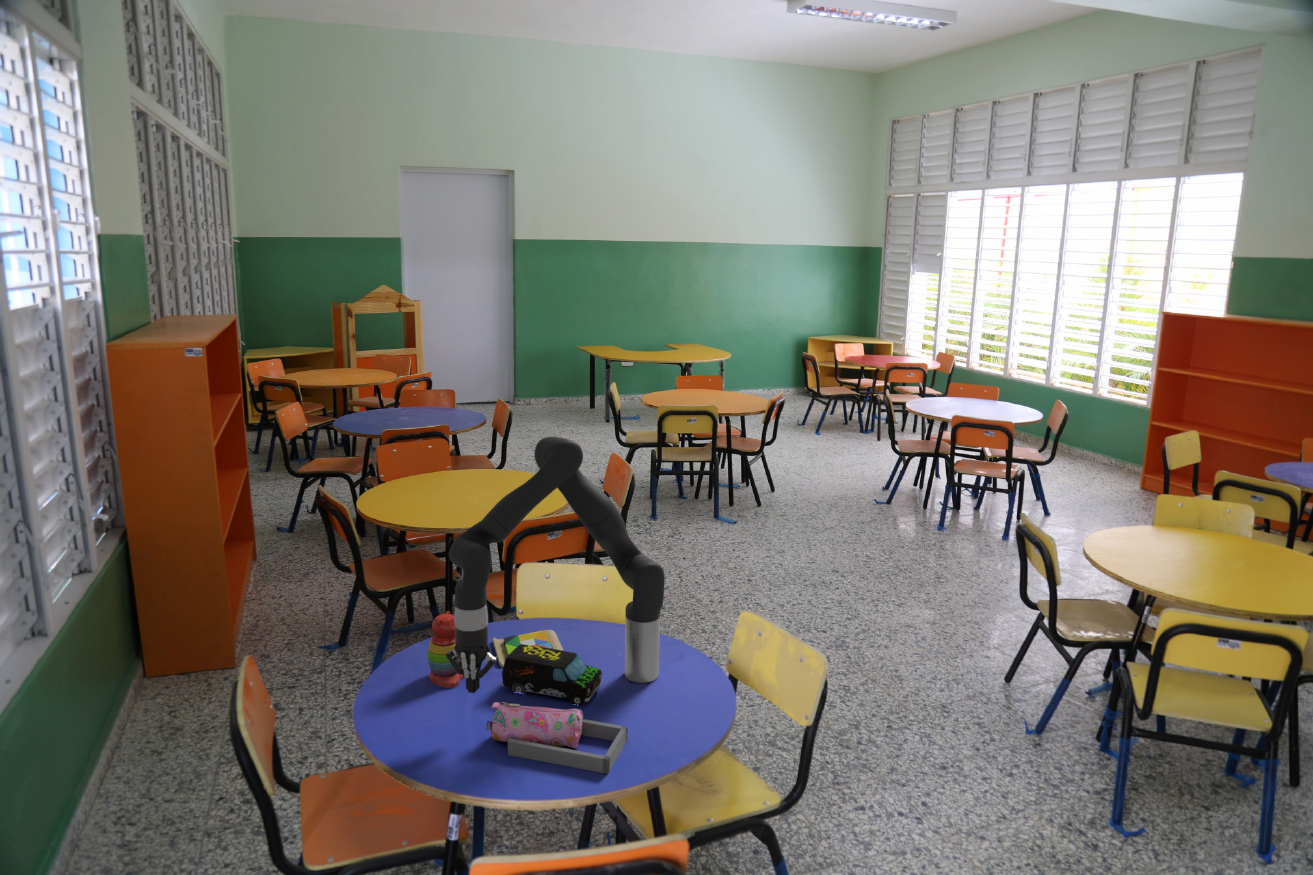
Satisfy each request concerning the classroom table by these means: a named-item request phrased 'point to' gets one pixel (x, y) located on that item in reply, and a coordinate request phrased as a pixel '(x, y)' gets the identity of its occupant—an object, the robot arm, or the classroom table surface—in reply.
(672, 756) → the classroom table surface
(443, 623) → the stacking bear
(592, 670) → the toy van
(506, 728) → the pencil case
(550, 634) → the wooden puzzle
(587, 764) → the frame
